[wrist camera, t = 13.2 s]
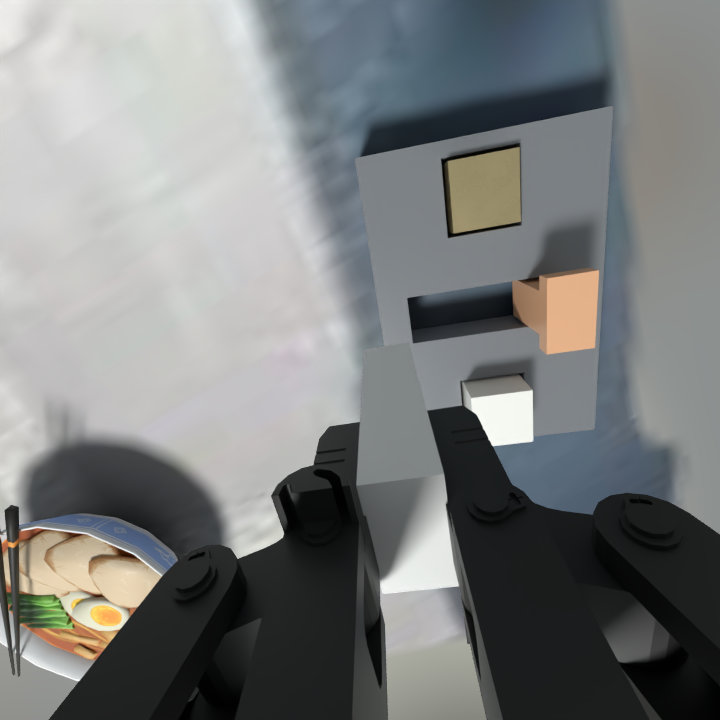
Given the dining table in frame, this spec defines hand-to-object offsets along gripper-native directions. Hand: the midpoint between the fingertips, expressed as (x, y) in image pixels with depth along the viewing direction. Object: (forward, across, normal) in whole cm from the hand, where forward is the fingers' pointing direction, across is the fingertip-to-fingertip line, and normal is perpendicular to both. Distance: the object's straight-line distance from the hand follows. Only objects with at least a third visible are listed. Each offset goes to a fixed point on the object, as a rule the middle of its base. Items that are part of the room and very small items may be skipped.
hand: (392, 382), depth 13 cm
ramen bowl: (+20, -34, -26) cm, 47 cm away
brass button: (+19, +8, +5) cm, 21 cm away
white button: (+17, +7, -11) cm, 22 cm away
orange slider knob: (+19, +12, -3) cm, 23 cm away
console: (+19, +8, -3) cm, 21 cm away
